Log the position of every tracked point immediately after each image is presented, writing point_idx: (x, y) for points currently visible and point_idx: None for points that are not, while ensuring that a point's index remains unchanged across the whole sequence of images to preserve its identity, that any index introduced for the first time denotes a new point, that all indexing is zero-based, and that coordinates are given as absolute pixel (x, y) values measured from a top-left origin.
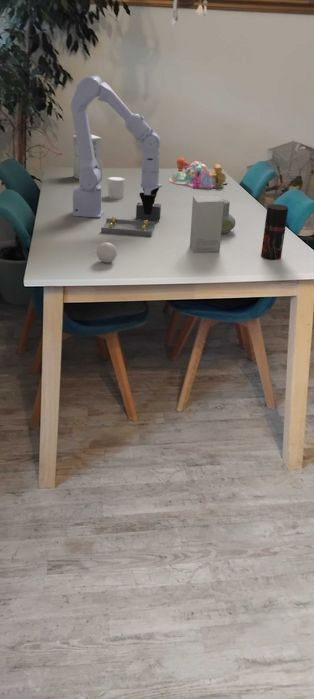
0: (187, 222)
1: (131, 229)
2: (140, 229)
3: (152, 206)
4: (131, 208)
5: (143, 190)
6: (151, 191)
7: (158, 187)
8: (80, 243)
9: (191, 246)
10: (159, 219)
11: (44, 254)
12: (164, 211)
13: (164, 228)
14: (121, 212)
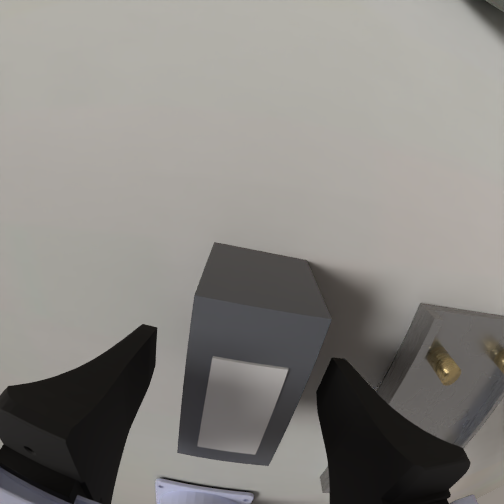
0: (328, 37)
1: (494, 405)
2: (471, 372)
3: (302, 382)
4: (50, 376)
5: (110, 497)
6: (99, 456)
7: (21, 425)
8: (480, 470)
9: None
10: (292, 261)
11: (495, 484)
12: (42, 193)
13: (460, 244)
14: (136, 430)
